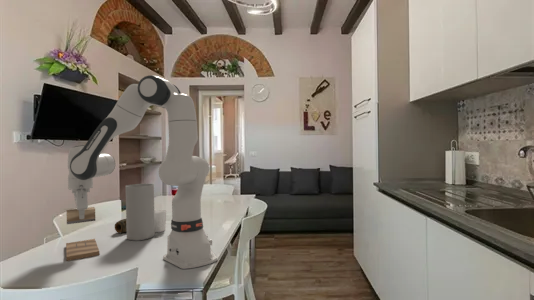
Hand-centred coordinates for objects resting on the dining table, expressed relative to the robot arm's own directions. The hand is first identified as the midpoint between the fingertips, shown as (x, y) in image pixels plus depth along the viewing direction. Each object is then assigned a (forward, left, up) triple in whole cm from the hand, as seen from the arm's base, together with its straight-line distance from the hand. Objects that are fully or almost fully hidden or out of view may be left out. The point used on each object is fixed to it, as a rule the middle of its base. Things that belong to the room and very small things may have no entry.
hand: (81, 217), depth 126 cm
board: (+1, 0, -14) cm, 14 cm away
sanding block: (0, 0, -2) cm, 2 cm away
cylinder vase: (+7, -25, -15) cm, 29 cm away
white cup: (+14, -35, -15) cm, 40 cm away
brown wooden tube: (+24, -22, -15) cm, 36 cm away
